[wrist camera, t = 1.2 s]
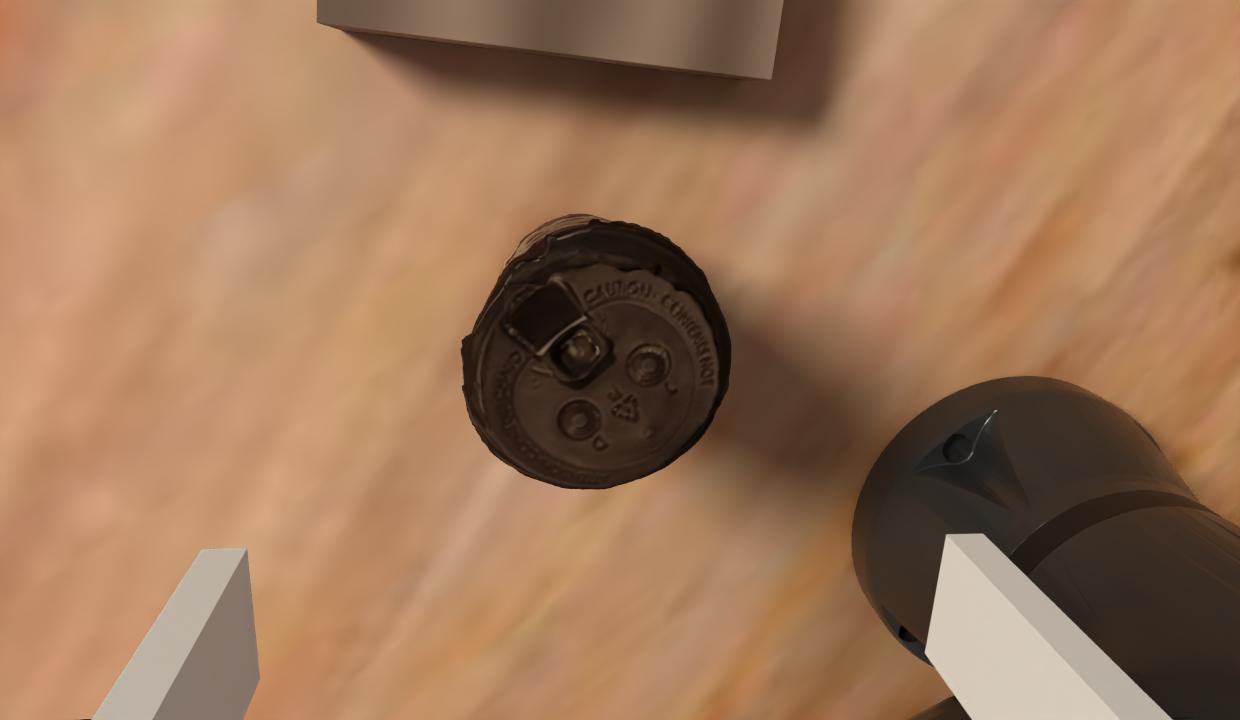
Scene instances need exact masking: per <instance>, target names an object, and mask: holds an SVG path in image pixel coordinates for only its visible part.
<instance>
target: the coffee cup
mask: <svg viewBox="0 0 1240 720" xmlns="http://www.w3.org/2000/svg"><path fill="white" fill-rule="evenodd" d="M462 345H463V346H462V348H461V355H462V362H463V379H464V385H463V386H462V390H463V393H464V397H465V400H466V406H467V411H468V413H469V418H470V420H471V422H472V425H473V426H474V427H475V429H476V431H477V433H478V434H479V436H480V437H481V439H482V441H483V442H484V443H485V444H486V445H487V447H488V448H489V450H490V452H491V453H493V454H494V455H495V456H496V457H497V458H499V459H500V460H501V461H503V462H504V463H505V464H507V465H509V466H512V467H513V468H515V469H516V470H517V471H518V472H519V473H521V474H523V475H525V476H527V477H530V478H533V479H536V480H539V481H542V482H545V483H548V484H552V485H554V486H558V487H561V488H567V489H607V488H612V487H614V486H617V485H621V484H625V483H629V482H632V481H634V480H637V479H641V478H643V477H646V476H648V475H650V474H652V473H655V472H657V471H659V470H661V469H663V468H665V467H667V466H668V465H670V464H671V463H672V462H674V461H675V460H676V459H678V458H679V457H680V456H681V455H683V454H684V453H686V452H687V451H688V450H690V449H691V448H692V447H693V446H694V445H695V444H696V443H697V442H698V441H699V440H700V438H701V437H702V436H703V435H704V434H705V432H706V430H707V429H708V427H709V426H710V424H711V423H712V421H713V418H714V415H715V413H716V410H717V409H718V407H719V406H720V404H721V402H722V400H723V398H724V396H725V394H726V392H727V390H728V386H729V374H730V366H731V340H730V336H729V332H728V328H727V324H726V321H725V318H724V316H723V314H722V312H721V310H720V308H719V305H718V303H717V301H716V299H715V297H714V295H713V293H712V291H711V288H710V286H709V284H708V281H707V278H706V276H705V274H704V272H703V271H702V269H700V268H699V267H698V266H696V264H695V263H694V261H693V260H692V259H691V258H689V257H688V256H687V255H686V254H685V252H684V251H683V250H682V249H681V248H680V247H679V246H677V245H675V244H674V243H673V242H671V240H670V239H669V238H667V237H665V236H663V235H662V234H660V233H656V232H654V231H653V230H651V229H648V228H645V227H641V226H639V225H638V224H634V223H625V222H623V221H613V222H612V221H609V220H607V219H603V218H600V217H596V216H593V215H588V214H569V215H567V216H563V217H560V218H556V219H554V220H551V221H549V222H546V223H544V224H542V225H541V226H540V227H538V228H537V229H535V230H534V231H532V232H531V233H529V234H528V235H526V236H525V237H523V238H522V239H521V240H520V241H519V243H518V245H517V247H516V249H515V250H514V251H513V253H512V254H511V255H510V256H509V258H508V259H507V260H506V261H505V263H504V266H503V270H502V272H501V274H500V276H499V278H498V280H497V283H496V285H495V287H494V288H493V290H492V292H491V294H490V296H489V297H488V300H487V302H486V304H485V306H484V308H483V310H482V312H481V313H480V314H479V316H478V318H477V320H476V323H475V325H474V328H473V331H472V333H471V334H469V335H468V336H466V337H465V338H464V339H463V340H462Z"/></svg>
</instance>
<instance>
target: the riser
mask: <svg viewBox="0 0 1240 720" xmlns="http://www.w3.org/2000/svg"><path fill="white" fill-rule="evenodd" d="M783 2H784V0H317V23H320V24H323V25H326V26H330V27H333V28H336V29H339V30H346V31H354V32H362V33H370V34H378V35H386V36H394V37H402V38H410V39H418V40H426V41H434V42H442V43H450V44H458V45H466V46H474V47H482V48H490V49H498V50H506V51H514V52H522V53H530V54H538V55H546V56H554V57H562V58H570V59H578V60H586V61H594V62H602V63H610V64H618V65H626V66H634V67H642V68H650V69H658V70H666V71H674V72H682V73H690V74H698V75H706V76H714V77H722V78H730V79H738V80H771V79H772V72H773V66H774V60H775V53H776V47H777V40H778V34H779V28H780V21H781V15H782V8H783Z"/></svg>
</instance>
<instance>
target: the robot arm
mask: <svg viewBox="0 0 1240 720" xmlns="http://www.w3.org/2000/svg"><path fill="white" fill-rule="evenodd" d="M852 556H853V562H854V567H855V571H856V575H857V578H858V581H859V583H860V586H861V588H862V590H863V592H864V594H865V596H866V598H867V599H868V601H869V603H870V604H871V605H872V607H873V608H874V610H875V611H876V613H877V614H878V616H879V617H880V619H881V620H882V622H883V623H884V625H885V626H886V627H887V629H888V630H889V631H890V633H891V634H892V635H893V636H894V637H895V638H896V639H897V640H898V641H899V642H900V643H901V644H902V645H903V646H904V647H905V648H906V649H907V650H909V651H910V652H911V653H912V654H914V655H915V656H916V657H918V658H919V659H921V660H922V661H924V662H926V663H927V664H929V665H931V666H932V667H934V668H935V669H936V670H937V671H938V672H939V674H940V675H941V677H942V678H943V679H944V681H945V682H946V684H947V685H948V687H949V688H950V689H951V691H952V692H953V694H954V695H955V696H952V697H949V698H947V699H946V700H944V701H942V702H940V703H938V704H936V705H934V706H932V707H930V708H928V709H926V710H925V711H923V712H921V713H919V714H917V715H915V716H913V717H911V718H909V719H907V720H1240V528H1239V527H1238V526H1236V525H1234V524H1233V523H1231V522H1229V521H1228V520H1226V519H1224V518H1222V517H1221V516H1219V515H1218V514H1216V513H1214V512H1213V511H1211V510H1209V509H1208V508H1206V507H1205V506H1203V505H1202V504H1201V503H1200V502H1199V501H1198V499H1197V498H1196V497H1195V495H1194V494H1193V493H1192V491H1191V490H1190V489H1189V487H1188V486H1187V485H1186V483H1185V482H1184V481H1183V479H1182V478H1181V477H1180V475H1179V474H1178V473H1177V472H1176V470H1175V469H1174V468H1173V466H1172V465H1171V464H1170V463H1169V461H1168V460H1167V459H1166V458H1165V457H1164V455H1163V454H1162V452H1161V450H1160V448H1159V446H1158V445H1157V443H1156V442H1155V440H1154V439H1153V438H1152V436H1151V435H1150V434H1149V433H1148V432H1147V431H1146V429H1145V428H1144V427H1143V426H1142V425H1141V424H1139V423H1138V422H1137V421H1136V420H1135V419H1134V418H1133V417H1131V416H1130V415H1129V414H1127V413H1126V412H1125V411H1123V410H1122V409H1120V408H1119V407H1117V406H1115V405H1114V404H1112V403H1110V402H1108V401H1106V400H1104V399H1102V398H1101V397H1099V396H1097V395H1095V394H1093V393H1091V392H1090V391H1088V390H1085V389H1083V388H1081V387H1079V386H1077V385H1074V384H1071V383H1068V382H1065V381H1061V380H1057V379H1052V378H1046V377H1035V376H1018V377H1007V378H1001V379H995V380H990V381H987V382H983V383H979V384H976V385H973V386H970V387H968V388H965V389H963V390H960V391H958V392H956V393H954V394H952V395H949V396H947V397H946V398H944V399H942V400H940V401H939V402H937V403H935V404H934V405H932V406H931V407H929V408H928V409H926V410H925V411H923V412H922V413H921V414H919V415H918V416H917V417H916V418H914V419H913V420H912V421H911V422H910V423H909V424H907V425H906V426H905V427H904V428H903V429H902V430H901V431H900V432H899V433H898V434H897V435H896V436H895V438H894V439H893V440H892V441H891V442H890V443H889V445H888V446H887V447H886V448H885V450H884V451H883V452H882V454H881V455H880V457H879V458H878V460H877V461H876V463H875V464H874V466H873V468H872V469H871V471H870V473H869V475H868V477H867V479H866V481H865V483H864V486H863V488H862V490H861V493H860V496H859V499H858V502H857V506H856V510H855V514H854V520H853V527H852ZM259 679H260V674H259V664H258V654H257V644H256V634H255V624H254V614H253V603H252V593H251V583H250V573H249V563H248V553H247V548H241V549H202V550H201V551H200V553H199V554H198V556H197V557H196V559H195V560H194V562H193V563H192V565H191V567H190V568H189V570H188V571H187V573H186V574H185V576H184V577H183V579H182V580H181V582H180V584H179V585H178V587H177V588H176V590H175V591H174V593H173V594H172V596H171V597H170V599H169V601H168V602H167V604H166V605H165V607H164V608H163V610H162V611H161V613H160V614H159V616H158V618H157V619H156V621H155V622H154V624H153V625H152V627H151V628H150V630H149V631H148V633H147V634H146V636H145V638H144V639H143V641H142V642H141V644H140V645H139V647H138V648H137V650H136V651H135V653H134V655H133V656H132V658H131V659H130V661H129V662H128V664H127V665H126V667H125V668H124V670H123V672H122V673H121V675H120V676H119V678H118V679H117V681H116V682H115V684H114V685H113V687H112V689H111V690H110V692H109V693H108V695H107V696H106V698H105V699H104V701H103V702H102V704H101V706H100V707H99V709H98V710H97V712H96V713H95V715H94V716H93V718H92V719H82V720H243V718H244V716H245V713H246V711H247V708H248V706H249V704H250V701H251V699H252V696H253V694H254V692H255V689H256V687H257V684H258V682H259Z"/></svg>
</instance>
